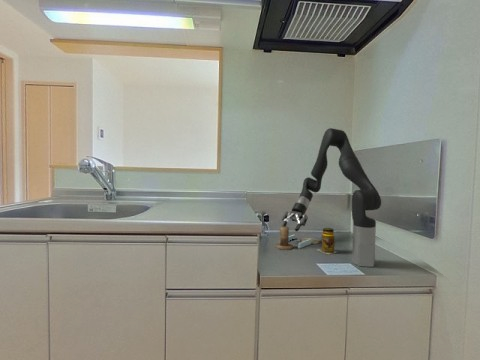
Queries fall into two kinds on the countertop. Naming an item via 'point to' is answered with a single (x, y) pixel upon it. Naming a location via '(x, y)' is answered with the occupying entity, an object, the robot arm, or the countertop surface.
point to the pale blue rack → (301, 241)
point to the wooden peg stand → (284, 239)
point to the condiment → (327, 241)
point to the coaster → (313, 240)
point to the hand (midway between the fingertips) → (289, 229)
